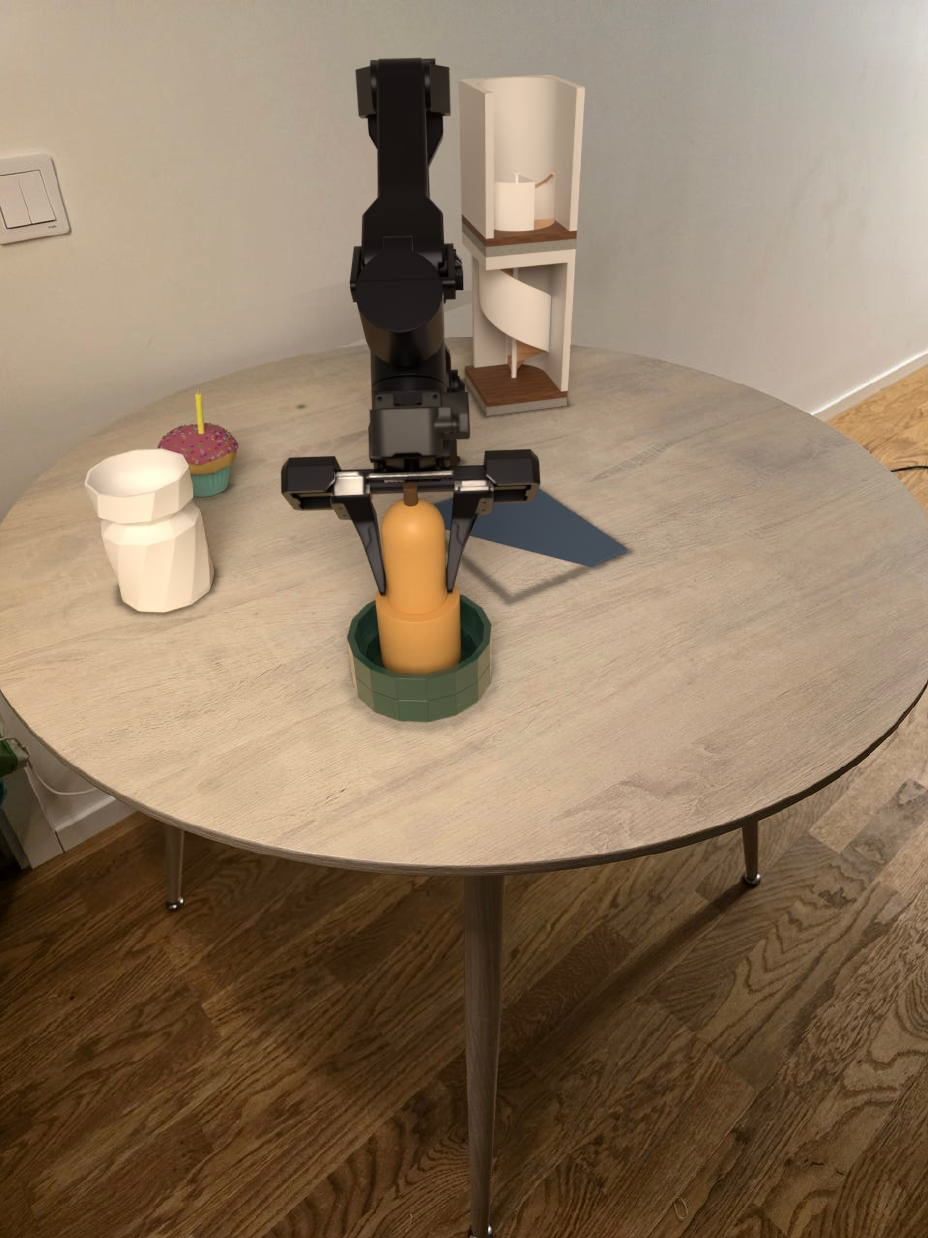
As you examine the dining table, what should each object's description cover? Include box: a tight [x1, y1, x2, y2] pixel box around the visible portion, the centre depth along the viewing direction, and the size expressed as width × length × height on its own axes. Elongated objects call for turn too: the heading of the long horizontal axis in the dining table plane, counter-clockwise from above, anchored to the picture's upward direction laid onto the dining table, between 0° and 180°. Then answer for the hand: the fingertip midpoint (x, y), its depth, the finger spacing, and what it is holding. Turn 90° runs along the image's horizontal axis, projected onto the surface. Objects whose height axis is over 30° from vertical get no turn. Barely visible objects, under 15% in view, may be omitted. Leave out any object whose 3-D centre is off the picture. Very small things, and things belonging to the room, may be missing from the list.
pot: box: [346, 593, 493, 723], centre depth 69 cm, size 11×11×5 cm
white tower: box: [458, 73, 586, 417], centre depth 103 cm, size 11×11×35 cm
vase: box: [83, 448, 215, 613], centre depth 78 cm, size 9×9×12 cm
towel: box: [433, 488, 628, 568], centre depth 87 cm, size 18×14×1 cm
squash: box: [374, 483, 461, 674], centre depth 65 cm, size 6×6×16 cm
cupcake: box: [156, 386, 239, 498], centre depth 92 cm, size 9×8×12 cm
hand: (416, 594), depth 64 cm, fingers closed on squash, 4 cm apart
